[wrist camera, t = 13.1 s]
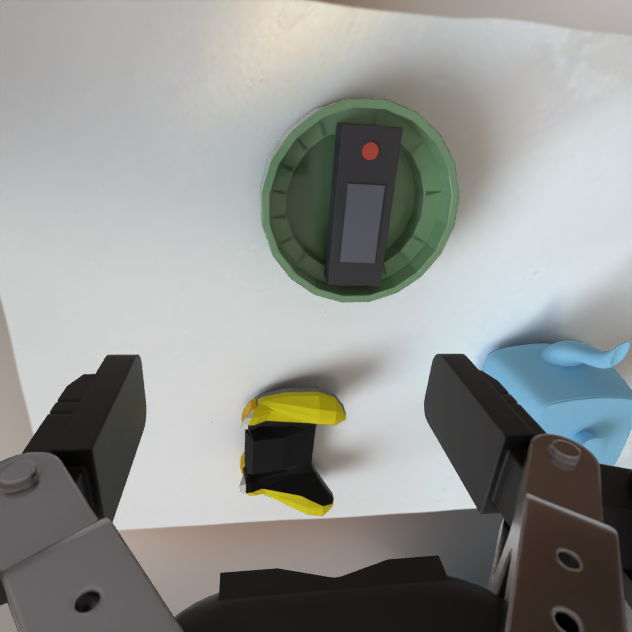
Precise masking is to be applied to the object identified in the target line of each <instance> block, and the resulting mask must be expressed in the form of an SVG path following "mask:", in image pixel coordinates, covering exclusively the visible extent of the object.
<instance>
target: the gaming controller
mask: <svg viewBox="0 0 632 632" xmlns="http://www.w3.org/2000/svg"><path fill="white" fill-rule="evenodd" d="M345 419H346V413H345V409H344V406H343V404H342V403H341V402H340V400H339V399H338V398H337V397H336V395H335V394H334V393H332V392H329V391H326V390H323V389H320V388H318V387H305V388H283V389H279V390H274V391H270V392H266V393H263V394H260V395H258V396H257V397H255V398H254V399H252V400H251V401H250V402H249V404H248V405H247V407H246V408H245V409H244V411H243V414H242V425H241V428H244V429H245V430H246V431H245V452H244V454H243V455H242V456H241V466H240V468H241V472H242V474H243V477H242V480H241V483H240V486H239V489H240V492H242V493H245V494H248V495H249V496H254V495H259V494H265V495H267V496H269V497H271V498H273V499H276V500H278V501H280V502H282V503H284V504H286V505H288V506H290V507H292V508H294V509H297V510H299V511H301V512H303V513H305V514H307V515H316V516H323V515H324V514H325V513H326V512H328V511H329V510H330V509H331V507H332V506H333V499H334V498H333V493H332V492H331V491H330V489H329V488H328V486H327V485H326V484H325V482H324V481H323V479H322V478H321V477H320V475H319V474H318V472H317V471H316V469H315V468H314V466H313V464H312V453H313V444H314V435H315V427H316V424H325V425H336V424H338V423H340V422H342V421H344V420H345Z"/></svg>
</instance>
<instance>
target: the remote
mask: <svg viewBox="0 0 632 632" xmlns="http://www.w3.org/2000/svg"><path fill="white" fill-rule="evenodd" d="M402 131H403V128H401V127H390V126H377V125H364V124H351V123H338V122H337V123H336V135H335V147H334V159H333V171H332V183H331V195H330V207H329V219H328V231H327V243H326V256H325V268H324V276H325V279H326V281H327V283H328V285H356V286H381V280H382V272H383V265H384V258H385V251H386V244H387V237H388V230H389V223H390V216H391V209H392V202H393V195H394V187H395V180H396V173H397V166H398V159H399V152H400V145H401V138H402Z"/></svg>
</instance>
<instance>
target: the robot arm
mask: <svg viewBox="0 0 632 632" xmlns="http://www.w3.org/2000/svg"><path fill="white" fill-rule="evenodd" d="M424 411H425V416H426V419H427V422H428V423H429V425H430V427H431V429H432V430H433V432H434V434H435V436H436V437H437V439H438V441H439V443H440V444H441V446H442V448H443V449H444V451H445V453H446V455H447V456H448V458H449V460H450V462H451V463H452V465H453V467H454V469H455V470H456V472H457V474H458V476H459V477H460V479H461V481H462V482H463V484H464V486H465V488H466V489H467V491H468V493H469V495H470V496H471V498H472V500H473V502H474V503H475V505H476V507H477V508H478V510H479V512H480V513H481V514H488V513H501V515H502V516H503V518H504V519H503V522H502V525H501V527H500V531H499V537H498V541H497V546H496V551H495V556H494V560H493V566H492V570H491V575H490V580H489V585H488V589H485V588H483V587H481V586H479V585H477V584H475V583H472V582H470V581H468V580H465V579H462V578H459V577H455V576H452V575H447V574H446V572H445V570H444V568H443V565H442V563H441V561H440V558H439V556H426V557H414V558H401V559H389V560H385V561H383V562H380V563H378V564H374V565H372V566H369V567H366V568H363V569H361V570H358V571H355V572H352V573H350V574H347V575H344V576H341V577H336V578H332V577H325V576H319V575H313V574H307V573H302V572H296V571H290V570H283V569H277V568H276V569H264V570H252V571H239V572H226V573H221V574H220V590H219V593H217V594H214V595H212V596H208V597H206V598H204V599H202V600H200V601H198V602H196V603H194V604H193V605H191V606H190V607H188V608H186V609H185V610H183V611H182V612H180V613H179V614H178V615H176V616H175V617H174V616H173V615H172V613H171V611H170V610H169V608H168V607H167V605H166V604H165V602H164V601H163V599H162V598H161V596H160V595H159V593H158V591H157V590H156V589H155V587H154V585H153V584H152V582H151V581H150V579H149V578H148V576H147V575H146V573H145V572H144V570H143V569H142V567H141V566H140V564H139V563H138V561H137V560H136V558H135V556H134V555H133V553H132V552H131V551H130V549H129V548H128V546H127V544H126V543H125V541H124V540H123V538H122V537H121V535H120V534H119V532H118V530H117V529H116V527H115V526H114V524H113V523H112V522H113V519H114V516H115V513H116V510H117V508H118V505H119V502H120V499H121V496H122V493H123V490H124V487H125V484H126V481H127V478H128V475H129V472H130V469H131V466H132V463H133V460H134V457H135V454H136V451H137V448H138V445H139V442H140V439H141V436H142V433H143V430H144V427H145V421H146V399H145V390H144V380H143V371H142V362H141V358H140V356H139V355H107V356H106V357H105V359H104V361H103V362H102V364H101V366H100V367H99V369H98V371H97V372H96V374H84V375H82V376H81V377H79V378H78V379H77V380H75V381H74V382H72V383H71V384H69V385H68V386H67V387H66V389H65V390H64V392H63V393H62V394H61V396H60V397H59V399H58V403H55V405H54V406H53V408H52V409H51V411H50V414H48V415H47V417H46V418H45V420H44V421H43V423H42V424H41V426H40V427H39V429H38V430H37V432H36V433H35V435H34V436H33V438H32V439H31V441H30V442H29V444H28V445H27V447H26V448H25V449H24V451H23V453H22V454H19V455H16V456H13V457H10V458H8V459H5V460H3V461H1V462H0V605H3V604H5V603H8V605H9V608H10V610H11V614H12V616H13V619H14V622H15V625H16V628H17V630H18V632H628V629H627V618H626V608H625V600H626V602H627V603H628V604H629V606H630V607H631V609H632V470H631V469H626V468H621V467H615V466H610V465H605V464H600V463H599V462H598V460H597V458H596V457H595V456H594V455H593V454H592V452H590V451H589V450H588V449H587V448H585V447H584V446H583V445H581V444H579V443H577V442H576V441H573V440H571V439H569V438H566V437H563V436H560V435H555V434H547V433H546V432H545V431H544V430H543V429H542V427H541V426H540V425H539V424H538V423H537V422H536V421H535V420H534V419H533V418H532V417H531V416H530V415H529V414H528V412H527V411H526V410H525V409H524V408H523V407H522V406H521V405H520V404H517V401H516V400H515V398H514V397H513V396H512V395H511V394H509V392H508V391H507V390H506V389H505V388H504V387H503V386H502V384H501V383H500V382H499V381H498V380H496V379H495V378H493V377H491V376H490V375H488V374H486V373H485V372H483V371H479V370H478V369H477V368H476V367H475V365H474V364H473V363H472V362H471V361H470V360H469V359H468V358H467V356H465V355H464V354H437V355H435V357H434V359H433V362H432V366H431V371H430V376H429V380H428V385H427V390H426V395H425V400H424Z"/></svg>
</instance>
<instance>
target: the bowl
mask: <svg viewBox="0 0 632 632" xmlns="http://www.w3.org/2000/svg"><path fill="white" fill-rule="evenodd" d="M337 122H338V123H351V124H364V125H377V126H390V127H401V128H403V131H402V138H401V145H400V152H399V159H398V166H397V173H396V180H395V187H394V195H393V202H392V209H391V216H390V223H389V230H388V237H387V244H386V251H385V258H384V265H383V272H382V280H381V286H356V285H328V283H327V281H326V279H325V276H324V268H325V256H326V243H327V231H328V219H329V207H330V195H331V183H332V171H333V159H334V147H335V135H336V123H337ZM458 199H459V189H458V182H457V175H456V168H455V162H454V160H453V158H452V156H451V154H450V152H449V150H448V148H447V146H446V144H445V142H444V140H443V138H442V136H441V135H440V134H439V133H438V132H437V131H436V130H435V129H434V128H433V127H432V126H431V125H430V124H429V123H428V122H427V121H426V120H425V119H424V118H423V117H422V116H421V115H419V114H418V113H417V112H415V111H413V110H411V109H408V108H406V107H403V106H401V105H399V104H396V103H394V102H392V101H389V100H386V99H358V98H353V99H347V100H340V101H337V102H334V103H331V104H328V105H325V106H322V107H319V108H316V109H313V110H312V111H310V112H309V113H307V114H306V115H305V116H303V117H302V118H301V119H299V120H298V121H297V122H296V123H294V124H293V125H292V126H290V127H289V128H288V129H287V130H286V131H285V133H284V134H283V136H282V137H281V139H280V140H279V142H278V143H277V144H276V146H275V147H274V149H273V150H272V152H271V153H270V156H269V158H268V161H267V165H266V168H265V171H264V175H263V178H262V182H261V216H262V227H263V230H264V233H265V235H266V238H267V241H268V244H269V247H270V250H271V252H272V255H273V257H274V258H275V259H276V261H277V262H278V263H279V264H280V266H281V267H282V268H283V269H284V271H285V272H286V273H287V275H288V276H289V277H290V278H291V279H292V280H293V281H295V282H296V283H298V284H299V285H301V286H302V287H304V288H305V289H307V290H308V291H310V292H311V293H313V294H315V295H318V296H321V297H325V298H328V299H332V300H335V301H339V302H370V301H373V300H376V299H379V298H382V297H386V296H389V295H392V294H395V293H397V292H399V291H400V290H402V289H403V288H405V287H406V286H408V285H409V284H411V283H412V282H414V281H415V280H417V279H418V278H420V277H421V276H422V275H423V274H424V273H425V272H426V271H427V269H428V268H429V267H430V266H431V265H432V264H433V262H434V261H435V260H436V259H437V258H438V257H439V255H440V254H441V253H442V251H443V249H444V247H445V244H446V242H447V240H448V238H449V236H450V234H451V232H452V229H453V227H454V225H455V218H456V212H457V206H458Z"/></svg>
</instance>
